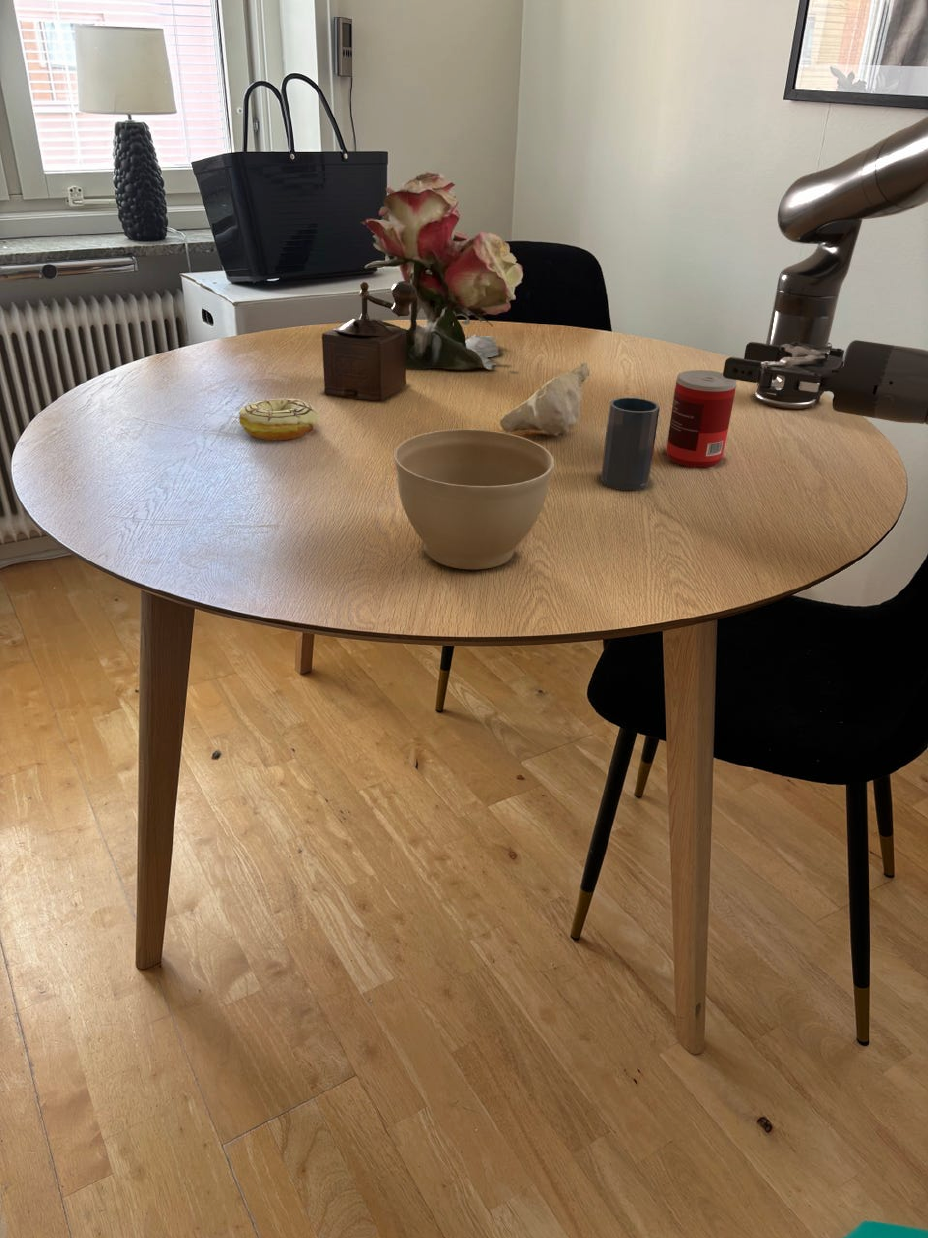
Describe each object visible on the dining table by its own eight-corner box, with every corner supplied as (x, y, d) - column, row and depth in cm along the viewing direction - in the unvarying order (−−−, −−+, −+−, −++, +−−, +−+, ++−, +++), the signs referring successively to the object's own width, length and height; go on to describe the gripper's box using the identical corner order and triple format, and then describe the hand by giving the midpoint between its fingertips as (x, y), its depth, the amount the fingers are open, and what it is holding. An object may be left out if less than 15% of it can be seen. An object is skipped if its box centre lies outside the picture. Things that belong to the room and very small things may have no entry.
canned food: (724, 452, 126) (739, 373, 120) (719, 471, 119) (734, 389, 114) (669, 444, 128) (681, 366, 122) (661, 463, 121) (673, 382, 116)
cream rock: (526, 464, 125) (615, 396, 122) (494, 421, 124) (583, 351, 121) (530, 459, 140) (610, 398, 137) (502, 421, 139) (582, 359, 136)
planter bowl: (428, 599, 87) (429, 494, 82) (374, 532, 100) (372, 437, 95) (573, 572, 93) (583, 473, 88) (505, 512, 106) (510, 422, 100)
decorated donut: (333, 433, 128) (332, 407, 126) (266, 449, 121) (264, 421, 119) (292, 414, 134) (291, 389, 132) (227, 428, 128) (225, 402, 126)
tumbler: (632, 470, 119) (642, 395, 114) (657, 487, 114) (669, 409, 109) (592, 475, 117) (600, 399, 112) (616, 493, 112) (625, 414, 107)
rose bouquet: (519, 373, 157) (531, 182, 142) (351, 367, 157) (345, 176, 142) (514, 338, 179) (524, 169, 164) (366, 333, 179) (363, 164, 164)
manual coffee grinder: (319, 395, 143) (314, 275, 134) (350, 377, 152) (347, 263, 143) (410, 408, 139) (410, 285, 130) (436, 389, 148) (438, 273, 139)
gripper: (906, 333, 99) (757, 313, 105) (887, 360, 88) (723, 336, 95) (888, 401, 102) (745, 377, 109) (868, 435, 92) (711, 407, 99)
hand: (735, 358), depth 102 cm, fingers open, 8 cm apart
